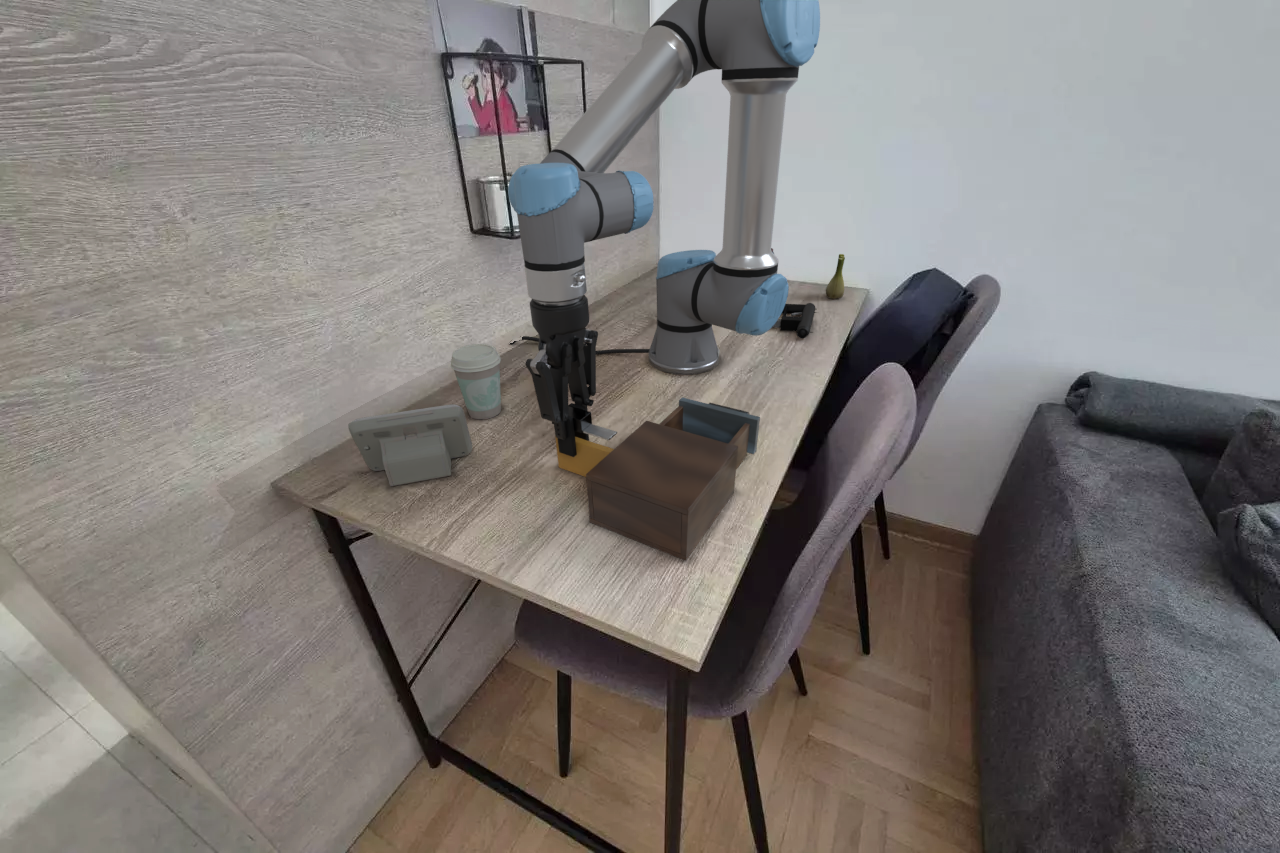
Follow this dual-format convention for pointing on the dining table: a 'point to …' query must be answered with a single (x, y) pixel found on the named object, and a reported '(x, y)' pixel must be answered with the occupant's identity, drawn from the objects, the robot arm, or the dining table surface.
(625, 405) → the dining table surface
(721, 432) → the drawer
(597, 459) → the upright yellow panel
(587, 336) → the robot arm
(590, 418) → the black rectangular block
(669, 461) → the cabinet
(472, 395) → the coffee cup
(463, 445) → the digital clock
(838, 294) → the green gourd
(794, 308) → the door handle
